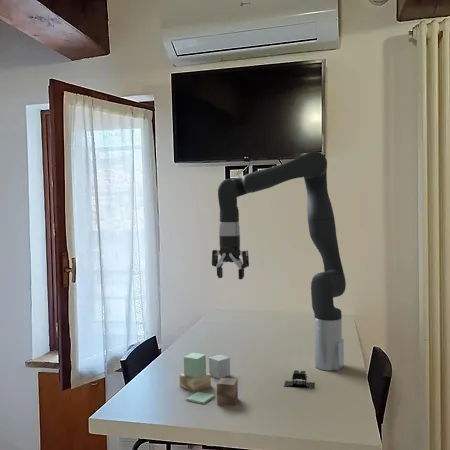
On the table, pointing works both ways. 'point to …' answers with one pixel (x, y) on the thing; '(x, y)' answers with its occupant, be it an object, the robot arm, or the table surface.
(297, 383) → the black piece
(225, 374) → the grey block
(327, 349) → the robot arm
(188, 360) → the green block
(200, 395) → the tile
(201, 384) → the maple base
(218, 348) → the table surface
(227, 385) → the walnut block
